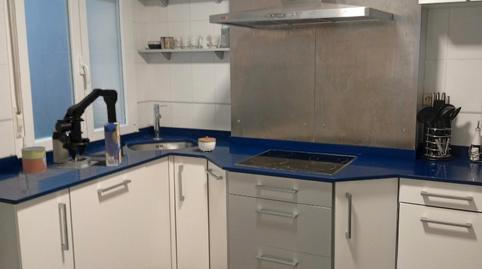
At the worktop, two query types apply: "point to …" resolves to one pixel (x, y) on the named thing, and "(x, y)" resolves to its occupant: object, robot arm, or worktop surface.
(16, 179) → the worktop surface
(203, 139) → the lidded jar
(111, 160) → the beverage box
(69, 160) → the grey faceted ring
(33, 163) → the canned food
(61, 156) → the travel mug
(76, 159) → the cap
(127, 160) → the worktop surface
